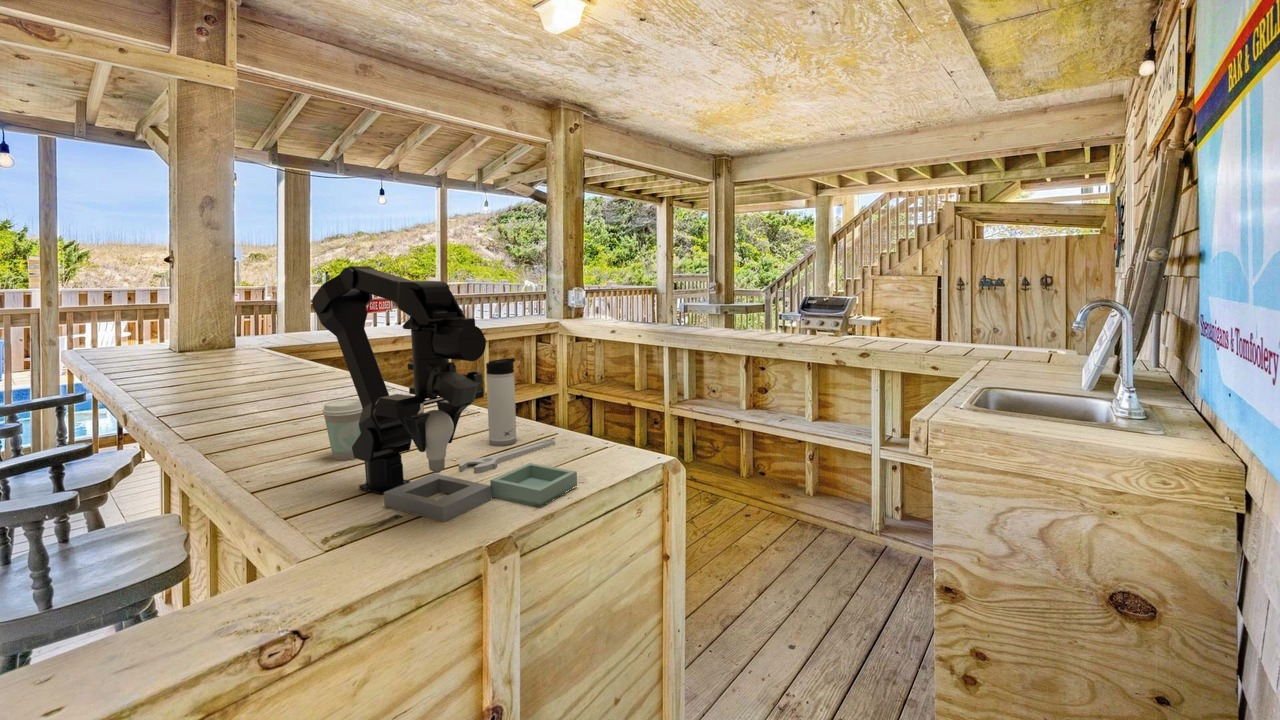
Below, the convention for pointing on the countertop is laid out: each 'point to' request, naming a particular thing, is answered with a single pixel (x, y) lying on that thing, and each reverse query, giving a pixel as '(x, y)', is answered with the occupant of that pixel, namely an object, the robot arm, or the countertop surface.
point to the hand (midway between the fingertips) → (435, 447)
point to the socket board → (443, 509)
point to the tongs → (358, 531)
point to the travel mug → (501, 402)
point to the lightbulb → (437, 438)
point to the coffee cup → (343, 426)
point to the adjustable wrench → (502, 457)
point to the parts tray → (533, 484)
